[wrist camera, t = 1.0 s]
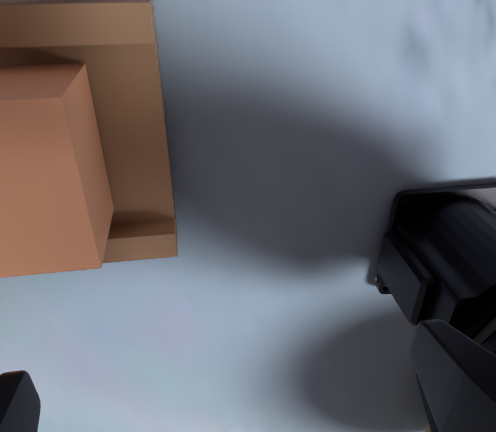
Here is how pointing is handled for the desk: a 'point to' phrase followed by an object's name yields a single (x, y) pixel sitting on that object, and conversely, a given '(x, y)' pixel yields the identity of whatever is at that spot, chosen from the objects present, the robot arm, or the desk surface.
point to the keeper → (50, 172)
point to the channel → (110, 105)
